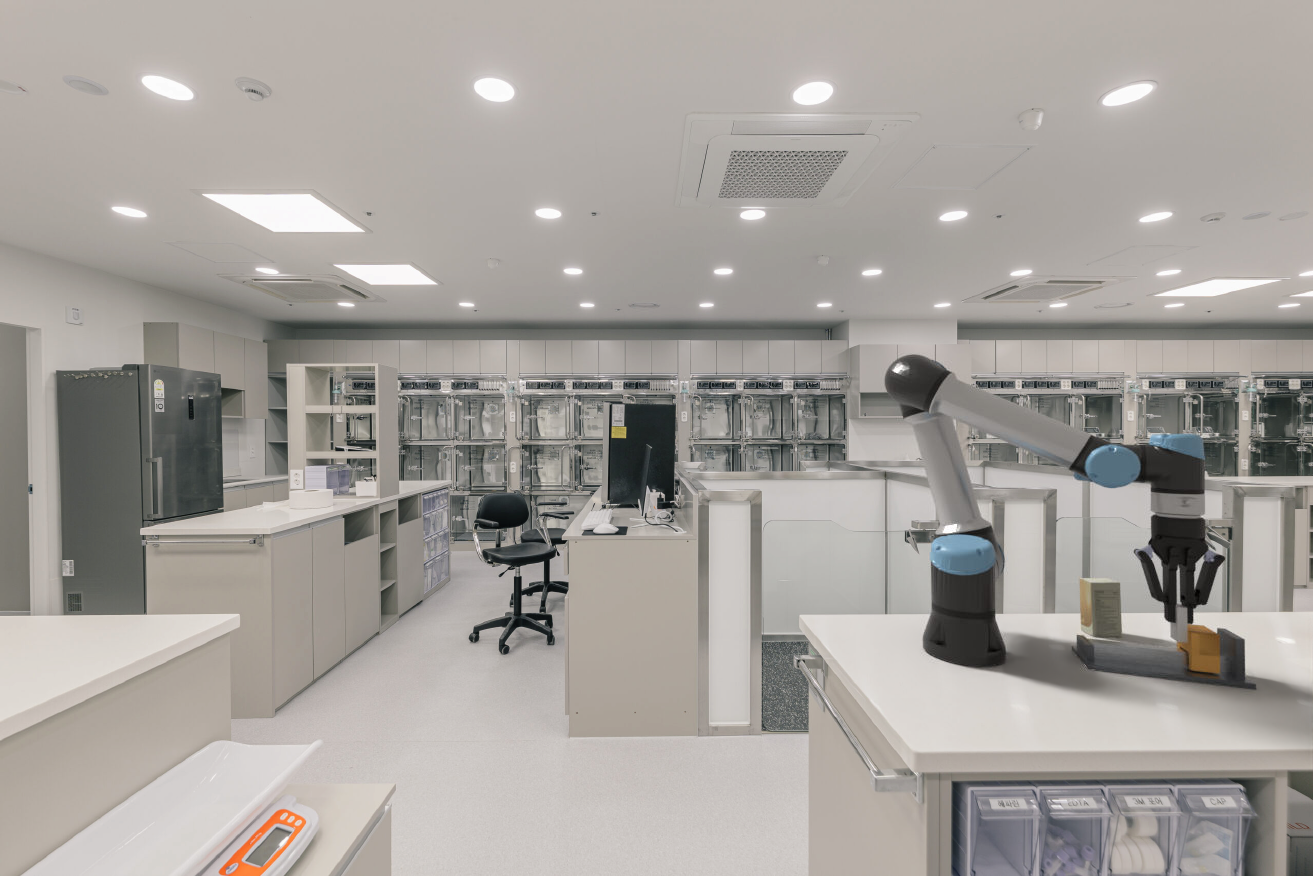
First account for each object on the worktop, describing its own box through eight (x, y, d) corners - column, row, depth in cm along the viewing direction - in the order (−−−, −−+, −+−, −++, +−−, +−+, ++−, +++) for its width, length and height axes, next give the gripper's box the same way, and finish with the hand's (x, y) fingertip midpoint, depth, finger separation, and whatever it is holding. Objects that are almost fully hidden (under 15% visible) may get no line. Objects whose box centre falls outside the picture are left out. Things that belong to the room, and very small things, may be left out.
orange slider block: (1191, 670, 102) (1191, 632, 102) (1177, 659, 107) (1176, 623, 107) (1220, 673, 100) (1219, 635, 100) (1204, 662, 105) (1203, 625, 105)
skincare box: (1108, 630, 126) (1108, 577, 126) (1123, 637, 122) (1122, 582, 122) (1078, 630, 127) (1078, 576, 127) (1091, 636, 123) (1091, 581, 123)
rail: (1088, 669, 106) (1087, 627, 106) (1071, 650, 115) (1071, 612, 115) (1256, 689, 97) (1255, 643, 97) (1223, 667, 106) (1222, 625, 106)
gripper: (1142, 516, 103) (1144, 642, 103) (1234, 519, 99) (1236, 651, 98) (1126, 511, 110) (1127, 629, 110) (1211, 514, 105) (1212, 637, 105)
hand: (1178, 639), depth 104 cm, fingers closed
